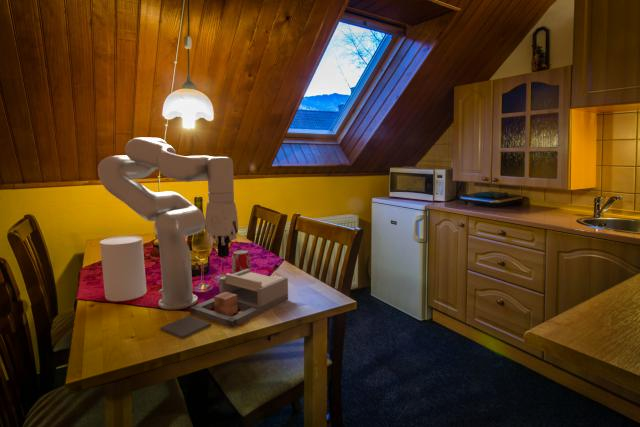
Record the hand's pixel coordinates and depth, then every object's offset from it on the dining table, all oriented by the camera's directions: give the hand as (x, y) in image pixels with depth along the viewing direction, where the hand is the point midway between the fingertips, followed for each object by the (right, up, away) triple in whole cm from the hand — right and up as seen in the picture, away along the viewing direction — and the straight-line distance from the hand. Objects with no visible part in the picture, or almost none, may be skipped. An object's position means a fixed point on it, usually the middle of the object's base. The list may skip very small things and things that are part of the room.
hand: (223, 256), depth 128 cm
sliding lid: (+8, -10, +13) cm, 18 cm away
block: (0, -19, +3) cm, 19 cm away
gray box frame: (+4, -18, +8) cm, 20 cm away
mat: (-9, -20, -7) cm, 23 cm away
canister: (-40, -16, +20) cm, 47 cm away
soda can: (-1, -14, +33) cm, 36 cm away
